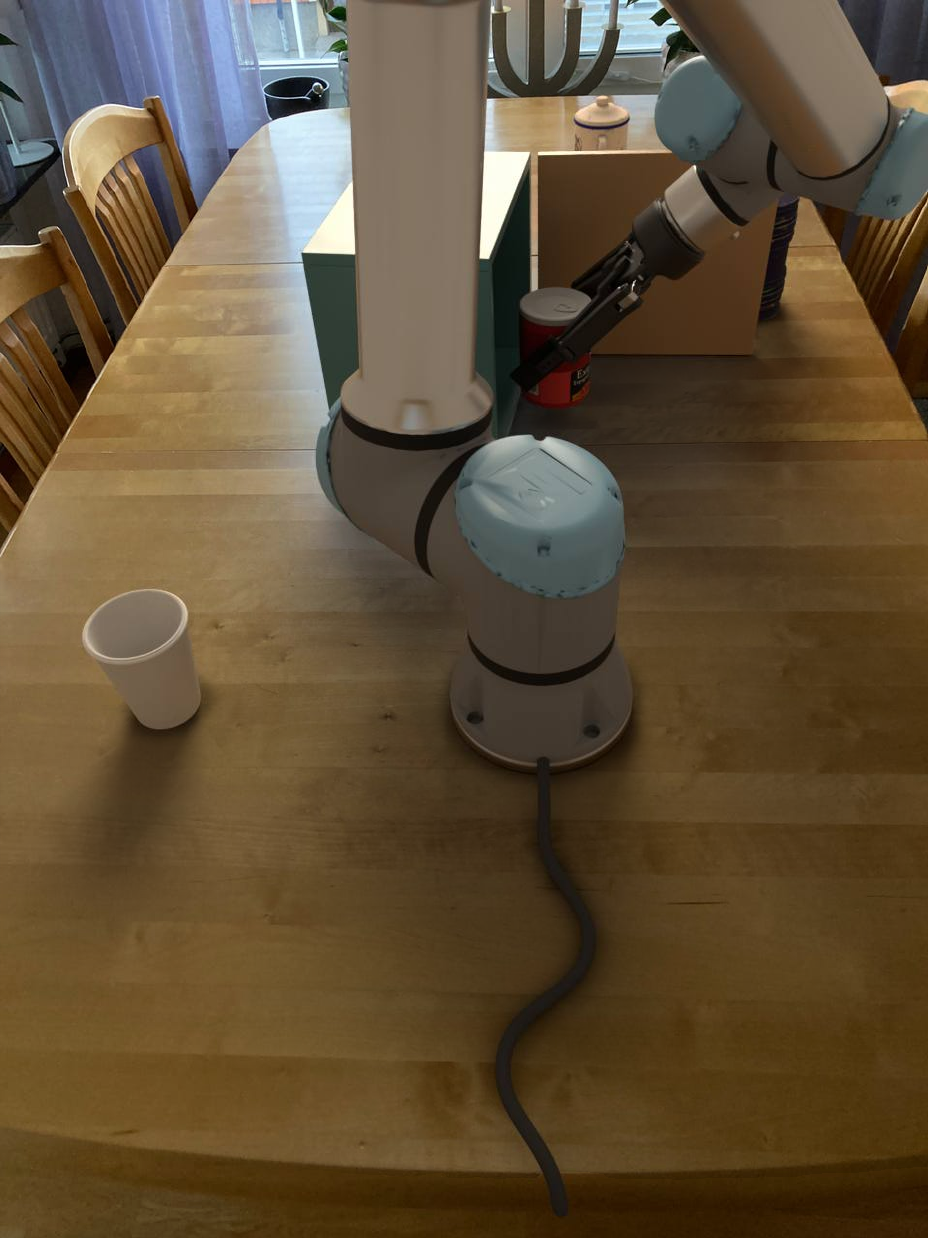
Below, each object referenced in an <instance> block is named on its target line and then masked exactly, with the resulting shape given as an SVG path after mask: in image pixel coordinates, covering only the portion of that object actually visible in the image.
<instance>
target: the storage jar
mask: <svg viewBox="0 0 928 1238" xmlns="http://www.w3.org/2000/svg"><path fill="white" fill-rule="evenodd" d="M800 199H801V197H800V196H796V195H793V194H790V193H784V194H783V195H782V196H781V197H779V199H778V205H777V211H776V216H775V222H774V228H773V234H772V240H771V245H770V251H769V257H768V263H767V269H766V274H765V280H764V286H763V292H762V297H761V303H760V309H759V315H758V321H757V323H761V322H766V321H767V320H768V321H769V320H770V319H772V318H773V317H775V316H776V315H777V314H778V312H779V311H780V306H781V302H780V301H781V299H782V294H783V292H784V290H785V286H786V285H785V284H786V278H787V271H788V267H787V259H788V253H789V247H790V244H791V242H792V240H793V237H794V235H795V228H796V225H797V220H798V210H799V202H800Z"/></svg>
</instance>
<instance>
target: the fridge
mask: <svg viewBox="0 0 928 1238" xmlns="http://www.w3.org/2000/svg"><path fill="white" fill-rule="evenodd" d="M532 250H533V249H532V152H531V151H484V174H483V196H482V218H481V240H480V263H479V285H478V307H477V329H476V352H475V371H476V372H477V373H478V374H479V375H480V376H481V377H482V378H484V379H485V380H486V381H487V383H488V384H489V385H490V387H491V389H492V391H493V410H492V436H493V438H494V439H495V440H498V439H502V438H505V437H510V433H511V430H512V425H513V422H514V418H515V415H516V411H517V407H518V404H519V401H520V397H521V394H522V391H521V387H520V386H519V385H518V384H517V383H516V382H515V381H514V380H513V379H511V378H510V377H509V376H510V373H511V372H512V371H513V370H514V369H516V368H517V367H518V366H519V365H520V348H519V304H520V300H521V299H522V298H523V297H524V296H525V295H526V294H528V293H530V292H532V291H533V285H532V284H533V280H532V278H533V273H532V270H533V269H532V268H533V267H532V266H533V265H532V264H533V263H532V262H533V261H532V260H533V259H532V256H533V255H532V253H533V252H532ZM300 254H301V255H300V256H301V260H302V261H301V262H302V268H303V272H304V277H305V284H306V289H307V295H308V302H309V307H310V311H311V317H312V323H313V328H314V334H315V339H316V345H317V351H318V356H319V362H320V368H321V375H322V378H323V385H324V390H325V396H326V401H327V407H328V411H329V410H330V409H331V407H332V406H333V404H334V403H335V402H336V401H337V400H338V399H339V398H340V395H341V388H342V386H343V384H344V382H345V381H346V380H347V379H348V378H349V377H350V376H351V375H352V374H353V373H355V372H356V371H357V370H358V369H359V345H358V318H357V290H356V263H355V236H354V209H353V182H352V180H350V182H349V184H348V185H347V186H346V188H345V190H343V192H342V193H341V195H340V196H339V198H338V199H337V201H336V202H335V203H334V205H333V207H332V208H331V209H330V211H329V212H328V214H327V215H326V216H325V218H324V220H323V221H322V222H321V224H320V225H319V227H317V229H316V231H315V232H314V233H313V235H312V236H311V237H310V239H309V241H308V242H307V243H306V245H305V247H304V248H303V249H302V251H301V252H300Z"/></svg>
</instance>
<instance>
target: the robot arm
mask: <svg viewBox="0 0 928 1238" xmlns="http://www.w3.org/2000/svg"><path fill="white" fill-rule="evenodd" d="M658 1H659V3H660V4H661V5H662V6H663V8H665V10H666V11H667V13H668V14H669V15H670V16H671V18H672V19H673V20H674V21H675V23H676V24H677V25H678V26H679V27H680V29H681V30H682V31H683V32H684V34H685V35H686V36H687V37H688V38H689V40H690V41H691V42H692V44H693V45H694V46H695V48H697V50H698V51H699V52H700V53H701V55H698V56H695V57H691V58H690V59H687V60H685V61H683V63H681V64H679V65H678V66H677V67H675V69H674V70H673V71H672V72H671V73H670V74H669V75H668V76H667V78H666V80H665V81H664V82H663V84H662V86H661V89H660V90H659V93H658V95H657V99H656V103H655V104H654V105H655V106H654V115H653V116H654V117H653V121H654V129H655V132H656V135H657V137H658V139H659V141H660V142H661V144H662V145H663V146H664V147H665V148H666V150H670V151H671V152H673V153H674V154H675V155H676V156H678V159H679V160H681V161H682V162H689V163H691V164H693V166H692V167H691V168H690V169H689V170H688V171H686V172H685V173H684V174H683V175H682V176H681V177H680V178H679V179H677V180H676V181H675V182H674V183H673V184H672V185H671V186H670V187H668V188H667V189H666V191H665V194H664V198H657V199H656V200H655V201H654V202H653V203H652V204H650V205H649V206H648V207H647V208H646V209H645V210H644V211H643V212H642V213H640V214H639V215H638V216H637V217H636V218H635V219H634V221H633V223H632V232H631V233H630V234H629V235H628V236H627V237H626V238H625V239H624V240H623V241H622V242H621V243H620V244H619V245H618V246H617V247H615V248H614V249H613V250H612V251H611V252H609V253H608V254H607V255H606V256H604V257H603V258H602V259H601V260H600V261H598V262H597V263H596V264H595V265H593V266H592V267H591V268H590V269H588V270H587V271H586V272H585V273H584V274H582V275H581V276H580V277H579V278H577V279H576V280H574V281H573V282H572V284H571V288H572V289H574V290H577V291H580V292H582V293H584V294H586V295H587V296H588V297H590V299H591V302H590V303H589V304H588V305H587V306H586V307H585V308H584V309H583V310H582V311H581V312H580V313H579V314H578V315H577V316H576V317H575V319H574V320H573V321H572V322H571V323H570V324H569V325H568V326H567V327H566V328H565V329H564V330H563V331H562V332H561V333H560V335H559V336H558V337H556V338H554V337H553V336H552V335H551V334H550V335H549V337H548V338H547V340H548V341H547V342H546V343H545V344H543V345H542V346H541V347H540V348H539V349H538V350H537V351H535V352H534V353H533V354H532V355H531V356H530V357H528V358H527V359H526V360H525V361H524V362H523V363H521V364H520V365H519V366H518V367H517V368H516V369H514V370H513V371H512V372H511V373H510V376H509V377H510V378H511V379H513V380H514V381H515V382H516V383H517V384H518V385H519V386H520V387H521V388H522V389H523V390H524V391H525V392H526V393H527V392H528V391H529V390H531V389H532V388H533V387H534V386H536V385H537V384H538V383H539V382H540V381H542V380H543V379H544V378H545V377H546V376H548V375H549V374H550V373H551V372H552V371H554V370H555V369H556V368H557V367H558V366H560V365H561V364H562V363H563V362H564V361H567V362H568V363H569V364H570V365H573V364H575V363H576V362H577V361H578V360H579V359H580V358H581V357H582V356H583V355H584V354H585V353H586V352H588V351H589V350H590V349H591V348H592V347H593V346H594V345H595V344H596V343H598V342H599V341H600V340H601V339H602V338H603V337H604V336H605V335H606V334H607V333H609V332H610V331H611V330H612V329H613V328H614V327H615V326H616V325H617V324H618V323H620V322H621V321H622V320H623V319H624V318H625V317H626V316H628V315H629V314H631V313H632V312H633V311H635V310H636V309H638V308H639V307H641V305H642V303H643V302H644V300H643V299H642V298H641V297H640V295H642V294H643V293H644V292H645V291H646V290H647V289H648V288H649V287H650V286H651V281H652V280H653V279H654V278H655V276H657V275H660V276H665V277H666V278H667V279H670V280H679V279H681V278H682V277H683V276H685V275H686V274H687V273H688V272H689V271H691V270H692V269H693V268H694V267H695V266H697V265H698V264H699V263H700V262H702V261H703V260H704V256H705V252H708V253H711V252H713V251H714V250H715V249H717V248H718V247H719V246H720V245H722V244H723V243H724V242H725V241H726V240H727V239H729V238H730V239H732V240H735V239H736V238H738V236H739V230H740V229H741V228H742V227H743V226H745V225H746V224H748V223H749V222H750V221H751V220H752V219H753V218H754V217H755V216H757V215H758V214H759V213H760V212H762V211H763V210H764V209H765V208H767V207H768V206H769V205H771V204H772V203H773V202H774V201H776V200H777V199H778V198H779V197H781V196H782V195H783V194H784V193H790V194H793V195H796V196H800V198H803V199H806V200H809V201H812V202H813V201H814V202H817V203H820V204H824V205H827V206H829V207H833V208H837V209H840V210H843V211H847V212H849V213H853V215H855V216H857V217H861V216H866V217H872V218H876V219H880V220H885V221H889V222H892V221H897V220H901V219H902V218H904V217H906V216H908V215H909V214H910V213H911V212H913V210H915V208H916V207H918V205H919V204H920V203H921V201H922V200H923V199H924V197H925V195H926V193H927V192H928V113H925V112H921V111H918V110H916V108H914V107H911V106H909V107H901V106H897V105H894V104H893V103H892V101H891V99H890V97H889V96H888V94H887V93H886V90H885V88H884V87H883V84H882V83H881V80H880V79H879V77H878V75H877V73H876V71H875V69H874V68H873V65H872V63H871V62H870V60H869V57H868V56H867V55H866V52H865V51H864V48H863V46H862V45H861V43H860V41H859V39H858V37H857V36H856V33H855V32H854V29H853V28H852V26H851V24H850V22H849V20H848V18H847V16H846V15H845V12H844V11H843V9H842V7H841V6H840V4H839V2H838V1H839V0H658ZM491 11H492V0H345V14H346V15H345V16H346V18H345V21H346V42H347V69H348V70H347V72H348V74H347V75H348V98H349V123H350V124H349V125H350V127H349V129H350V149H351V150H350V152H351V153H350V154H351V155H350V156H351V181H352V182H353V209H354V236H355V263H356V290H357V318H358V345H359V369H358V370H357V371H356V372H355V373H353V374H352V375H351V376H350V377H349V378H348V379H347V380H346V381H345V382H344V384H343V386H342V388H341V395H340V398H339V399H338V400H337V401H336V402H335V403H334V404H333V406H332V407H331V409H330V410H329V409H328V412H327V416H328V418H329V421H328V423H327V424H326V425H322V426H321V427H320V428H319V431H318V435H317V440H316V445H315V457H314V458H315V470H316V474H317V478H318V483H319V485H320V487H321V490H322V492H323V494H324V495H325V497H326V499H327V501H329V503H330V504H331V505H332V506H333V508H335V509H336V511H338V512H339V513H340V514H342V515H343V516H344V518H346V520H347V521H348V522H349V523H350V524H351V525H352V526H354V527H355V529H357V530H359V531H361V532H363V533H364V534H367V536H369V537H371V538H373V539H374V540H376V541H377V542H379V543H380V544H381V545H383V546H385V548H388V549H389V550H391V551H392V552H393V553H395V554H397V555H398V556H399V557H401V558H402V559H403V560H406V561H407V562H408V563H409V564H412V566H414V567H416V568H417V569H419V570H420V571H422V572H423V573H424V574H426V575H427V576H429V577H431V578H433V579H434V580H435V581H437V582H438V583H440V584H441V585H442V586H443V587H445V588H447V589H448V590H449V591H451V592H452V593H453V594H455V595H457V596H458V597H459V598H460V600H461V601H462V602H463V604H464V608H465V619H466V630H467V631H466V633H467V635H466V639H465V641H464V643H463V645H462V649H461V650H460V653H459V656H458V659H457V662H456V664H455V666H454V669H453V672H452V676H451V682H450V691H449V697H450V709H451V716H452V718H453V722H454V725H455V726H456V729H457V731H458V733H459V735H460V736H461V737H462V739H463V740H464V742H466V743H467V744H468V745H469V747H471V749H472V750H473V751H475V752H476V753H477V754H479V755H480V756H482V757H483V758H484V759H486V760H488V761H490V762H491V763H493V764H496V765H498V766H500V767H503V768H506V769H508V770H513V771H516V772H523V773H529V774H536V777H537V779H536V780H537V817H536V818H537V820H536V833H537V834H536V835H537V836H536V837H537V844H538V848H539V852H540V855H541V858H542V861H543V864H544V865H545V866H544V867H545V868H546V870H547V872H548V873H549V875H550V877H551V879H552V880H553V882H554V883H555V885H556V887H557V888H558V889H559V891H560V892H561V893H562V895H563V896H564V898H565V899H566V900H567V902H568V903H569V905H570V906H571V908H572V909H573V911H574V913H575V915H576V918H577V920H578V923H579V926H580V933H581V944H580V948H579V952H578V956H577V958H576V960H575V962H574V964H573V965H572V966H571V968H570V970H569V971H568V972H567V973H566V974H565V975H563V977H562V978H561V979H560V980H559V981H557V982H556V983H555V984H554V985H553V986H551V987H550V988H549V989H547V990H546V991H544V992H543V993H542V994H541V995H540V996H538V997H536V998H535V999H534V1000H533V1001H531V1002H530V1003H529V1004H528V1005H527V1006H525V1007H524V1008H522V1010H520V1012H519V1013H518V1014H517V1015H516V1016H515V1017H514V1018H513V1019H512V1021H510V1023H509V1024H508V1026H507V1027H506V1028H505V1030H504V1031H503V1034H502V1036H501V1038H500V1041H499V1042H498V1047H497V1051H496V1056H495V1059H494V1060H495V1061H494V1062H495V1063H494V1077H495V1086H496V1089H497V1093H498V1096H499V1099H500V1101H501V1104H502V1106H503V1108H504V1110H505V1112H506V1113H507V1116H508V1117H509V1119H510V1121H511V1122H512V1124H513V1126H514V1127H515V1129H516V1130H517V1132H518V1133H519V1134H520V1136H521V1138H522V1140H523V1141H524V1143H525V1144H526V1146H527V1147H528V1149H529V1150H530V1152H531V1154H532V1155H533V1157H534V1159H535V1160H536V1162H537V1165H538V1166H539V1168H540V1171H541V1173H542V1175H543V1177H544V1180H545V1183H546V1186H547V1190H548V1194H549V1199H550V1205H551V1209H552V1212H553V1214H554V1215H555V1217H557V1218H559V1219H560V1218H561V1219H563V1218H565V1217H566V1216H567V1215H568V1213H569V1209H570V1207H569V1206H570V1205H569V1201H568V1196H567V1192H566V1187H565V1184H564V1181H563V1178H562V1174H561V1171H560V1168H559V1167H558V1164H557V1162H556V1160H555V1158H554V1156H553V1154H552V1153H551V1150H550V1149H549V1147H548V1145H547V1143H546V1142H545V1141H544V1139H543V1137H542V1135H541V1134H540V1132H539V1131H538V1129H537V1127H536V1126H534V1124H533V1122H532V1121H531V1119H530V1118H529V1116H528V1114H527V1113H526V1111H525V1109H524V1108H523V1107H522V1105H521V1102H520V1101H519V1099H518V1097H517V1094H516V1092H515V1089H514V1085H513V1081H512V1073H511V1069H512V1058H513V1053H514V1049H515V1047H516V1045H517V1042H518V1040H519V1039H520V1037H521V1035H522V1034H523V1033H524V1031H525V1030H526V1029H527V1028H528V1027H529V1026H530V1025H531V1023H533V1022H534V1021H535V1020H536V1019H537V1018H539V1017H540V1016H541V1015H542V1014H544V1013H545V1012H546V1011H547V1010H549V1009H551V1007H552V1006H554V1005H555V1004H556V1003H558V1002H559V1001H561V1000H562V999H564V997H566V995H568V994H569V993H570V992H572V990H573V989H574V988H575V987H576V986H577V985H578V984H580V982H581V981H582V980H583V978H584V977H585V975H586V974H587V973H588V972H589V969H590V967H591V965H592V963H593V960H594V956H595V952H596V947H597V934H596V927H595V923H594V922H595V921H594V919H593V916H592V914H591V912H590V909H589V907H588V906H587V904H586V902H585V901H584V899H583V897H582V895H581V894H580V893H579V891H578V890H577V888H576V887H575V886H574V884H573V883H572V882H571V881H570V879H569V878H568V876H567V874H566V873H565V872H564V870H563V869H562V867H561V865H560V863H559V862H558V859H557V857H556V854H555V851H554V847H553V844H552V837H551V810H552V807H551V806H552V805H551V804H552V802H551V799H552V798H551V776H550V775H551V774H556V773H562V772H564V773H565V772H567V771H571V770H575V769H579V768H582V767H585V766H586V765H589V764H591V763H593V762H595V761H596V760H599V759H600V758H602V757H603V756H604V755H606V754H607V753H608V752H609V751H610V750H612V749H613V747H615V746H616V745H617V744H618V743H619V741H620V740H621V739H622V738H623V735H624V734H625V732H626V730H627V728H628V726H629V724H630V720H631V716H632V710H633V699H634V692H633V683H632V677H631V673H630V670H629V668H628V665H627V663H626V660H625V657H624V655H623V652H622V650H621V646H620V644H619V642H618V639H617V637H616V631H617V623H618V621H617V619H618V610H619V609H618V608H619V599H620V598H619V597H620V586H621V577H622V566H623V560H624V557H625V553H626V545H627V542H626V526H625V519H624V517H625V515H624V513H625V512H624V511H625V509H624V508H625V507H624V501H623V496H622V492H621V489H620V486H619V484H618V483H617V480H616V479H615V476H614V475H613V474H612V472H611V471H610V470H609V469H608V467H607V465H605V464H604V463H603V462H602V461H601V460H600V459H599V458H597V457H596V456H595V455H594V454H592V453H591V452H589V451H588V450H587V449H585V448H582V447H580V446H579V445H577V444H574V443H572V442H570V441H567V440H564V439H561V438H557V437H554V436H545V437H544V438H543V440H537V439H535V437H534V436H533V435H532V434H518V435H511V436H510V435H509V437H505V438H502V439H498V440H495V439H494V438H493V436H492V410H493V391H492V389H491V387H490V385H489V384H488V383H487V381H486V380H485V379H484V378H482V377H481V376H480V375H479V374H478V373H477V372H476V371H475V352H476V329H477V307H478V285H479V263H480V240H481V218H482V196H483V174H484V152H486V151H485V150H486V149H485V148H486V130H487V129H486V127H487V126H486V125H487V106H488V105H487V104H488V103H487V102H488V86H489V85H488V83H489V82H488V81H489V62H490V61H489V58H490V40H491V39H490V37H491V19H492V18H491V16H492V13H491Z"/></svg>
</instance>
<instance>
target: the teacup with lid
mask: <svg viewBox="0 0 928 1238" xmlns="http://www.w3.org/2000/svg"><path fill="white" fill-rule="evenodd" d="M630 120H631V116H630V112H629V111H628V110H627V109H626V108H624V107H622V106H618V105H616V104H615V103H613V102H610V99H609V97H608V96H607V95H599V96H597V97H596V100H595V102H593V103H591V104H590V105H588V106H585V107H583V108H581V109H578V111H576V113H575V114H574V117H573V123H574V150H573V151H616V150H627V147H628V133H629V131H628V130H629V123H630Z"/></svg>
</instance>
